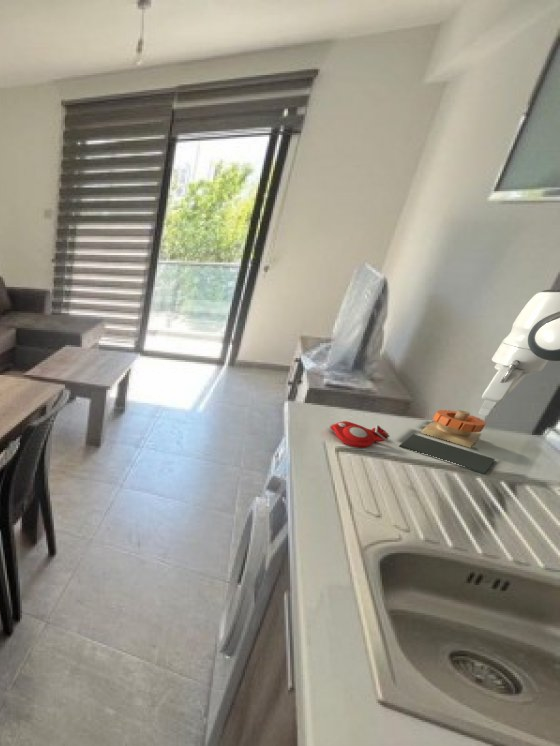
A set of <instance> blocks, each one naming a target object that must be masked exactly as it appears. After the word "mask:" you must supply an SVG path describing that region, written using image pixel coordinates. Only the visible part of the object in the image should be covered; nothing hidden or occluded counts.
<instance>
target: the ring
mask: <svg viewBox="0 0 560 746" xmlns="http://www.w3.org/2000/svg"><path fill="white" fill-rule="evenodd" d="M457 411H458V410H457ZM457 411H456V410H450V409H448V410H447V409H439V410H437V411H436V412H435V414H434V416H433V417H432V420H435V421H436V422H438V423H440V424H442V425H444V426H448V427H450V428H454V429H457V430H458V429H459V430H462V431H468V432H478V433H481V432H482V431H483V429H484V428H485V426H486V425H487V422H486V421H485V420H483V419H481V418H480V417H477V416H474V415H471V414H470V415H469V417H468V418H467V420H466V421H461V420H458V419H454V417H455V415H456V413H457Z"/></svg>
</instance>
